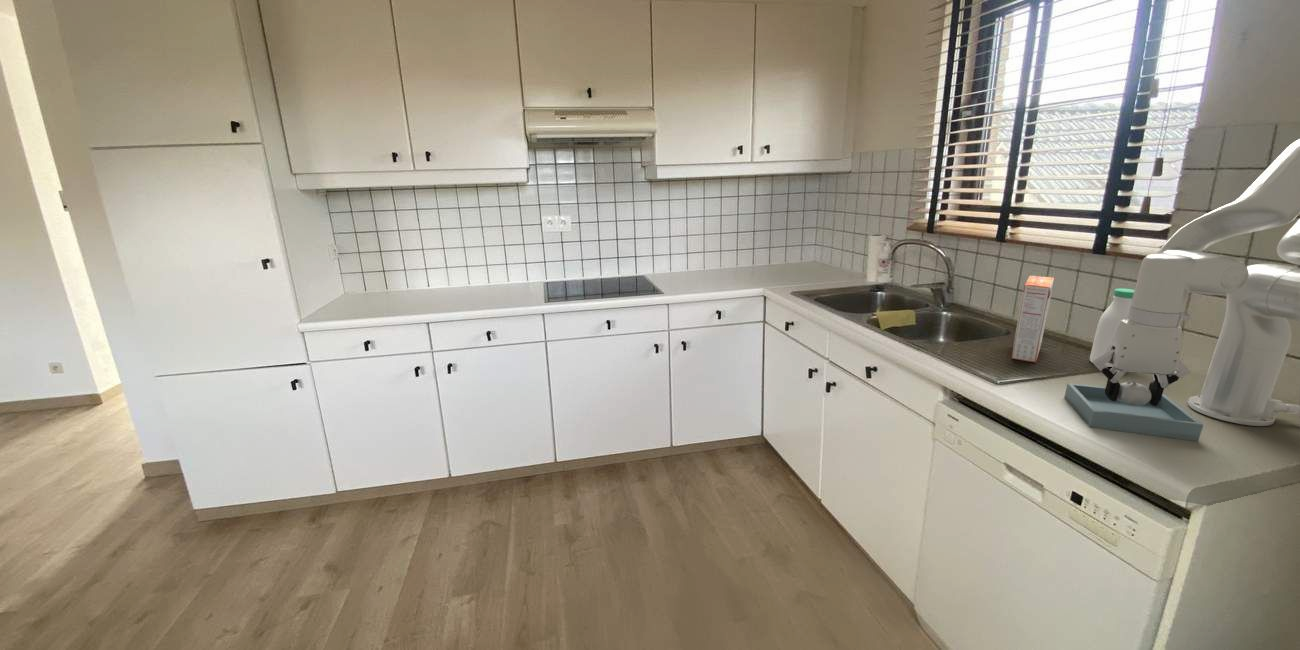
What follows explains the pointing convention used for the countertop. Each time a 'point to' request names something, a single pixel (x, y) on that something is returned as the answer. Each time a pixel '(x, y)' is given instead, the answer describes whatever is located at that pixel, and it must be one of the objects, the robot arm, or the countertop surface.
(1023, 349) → the cracker box
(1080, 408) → the tray
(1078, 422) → the countertop surface
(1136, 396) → the garlic
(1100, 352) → the milk bottle
